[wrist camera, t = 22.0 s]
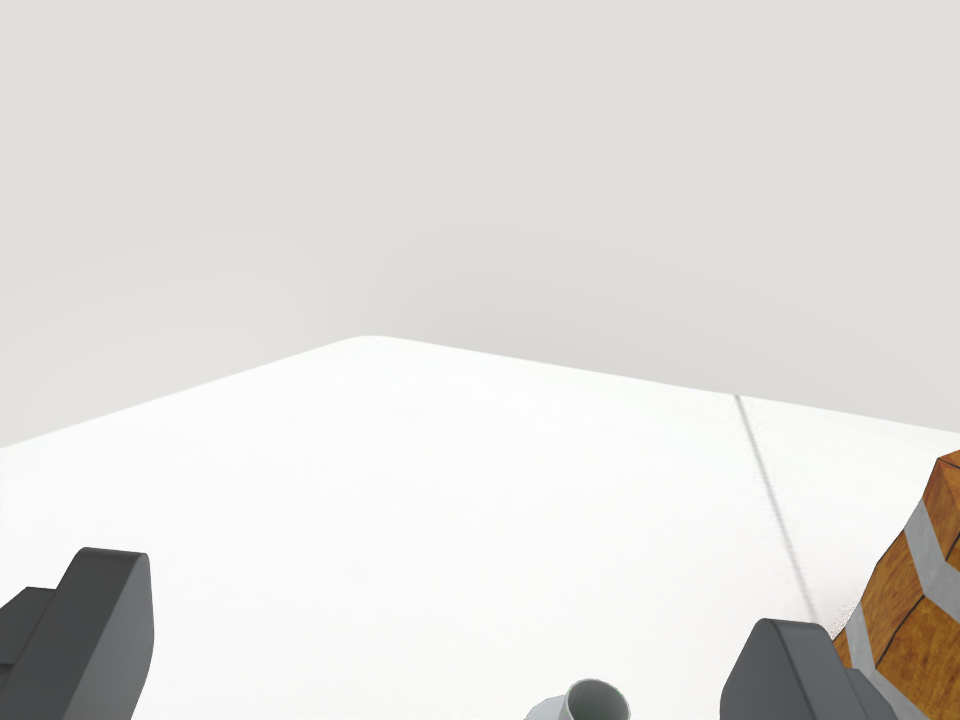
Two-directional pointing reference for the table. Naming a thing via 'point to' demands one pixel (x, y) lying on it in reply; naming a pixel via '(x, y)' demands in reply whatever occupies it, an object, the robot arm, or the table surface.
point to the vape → (584, 703)
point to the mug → (915, 608)
